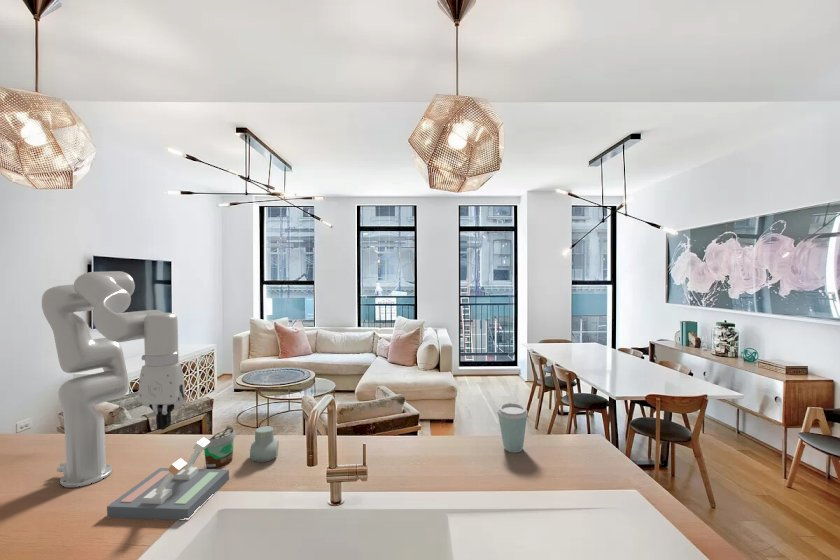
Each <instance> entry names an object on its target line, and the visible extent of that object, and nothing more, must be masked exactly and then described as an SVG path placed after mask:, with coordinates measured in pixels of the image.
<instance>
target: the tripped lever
mask: <svg viewBox="0 0 840 560" xmlns="http://www.w3.org/2000/svg"><path fill="white" fill-rule="evenodd" d="M186 465H187V462H186V461H185V460H184V459H183V458H181V457H180V458H179V459H177V460H176V461H174V462H173V463H172V464H171V465H170V466H169V467H168V468H169V469H168V471H169V474H168V475H167V476H166V478H165V479H164V480H163V482H162V483H161V484H160V486H159V487H158V488H157V490H156V491H155V492H156V493H157V494H158V495H159V494H160V493H161V492H162V491H164V490H165V488H166V487H167V486H168V484H169V483H170V482H171V480H172V479H173V478H174V476H175V475H176V474H178V473H179V472H180V471H181V470H183V469H184V467H185V466H186Z"/></svg>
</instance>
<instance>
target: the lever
mask: <svg viewBox="0 0 840 560" xmlns="http://www.w3.org/2000/svg"><path fill="white" fill-rule="evenodd" d="M208 440H209V439H207V438H206V437H202V438H201V439H199V440H197V442H196V443H195V444H194V446H193V449H194V451H193V453H192V454H191V456H190V458H189V459H188V461H187V462H186V463H187V465H186V466H185V467H184V470H186V471H188V470H189V469H190V468H191V467H194V465H195V462H196V461H197V460H198V458H199V456H200V454H201V453H202V452H204V449H205V448H207V446H208V445H209V443H210V441H208Z"/></svg>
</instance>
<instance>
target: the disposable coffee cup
mask: <svg viewBox="0 0 840 560" xmlns="http://www.w3.org/2000/svg"><path fill="white" fill-rule="evenodd" d="M496 414H497V415H498V421H499V422H498V423H499V427H500V432H501V437H502V438H501V439H502V445H503V448H504V449H505V451H506V452H509V453H520V452H522V451H523V449H524V443H525V436H526V425H527V418H528V415H529V414H528V410H527V408H526V407H525V406H524V405H523V404H520V403H518V402H506V403H505V402H503V403H502V404H500V405H499V406H498V409H497V413H496Z"/></svg>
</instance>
